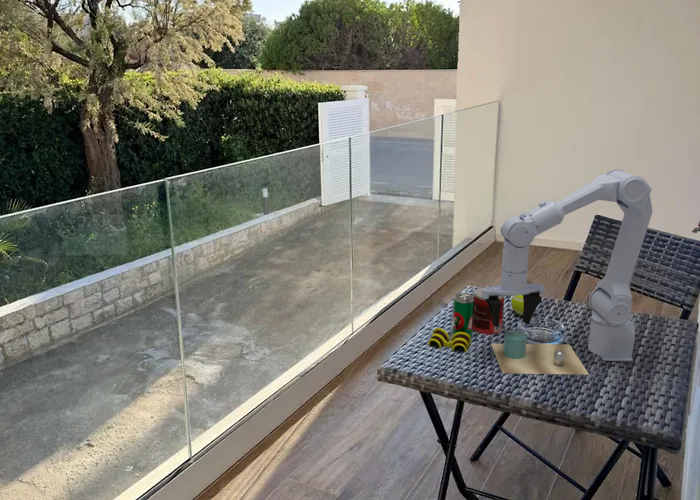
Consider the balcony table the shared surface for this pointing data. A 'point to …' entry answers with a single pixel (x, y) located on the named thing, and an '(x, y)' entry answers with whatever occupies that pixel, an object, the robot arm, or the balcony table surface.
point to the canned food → (485, 315)
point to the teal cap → (515, 344)
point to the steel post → (559, 358)
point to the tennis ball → (518, 304)
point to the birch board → (540, 360)
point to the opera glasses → (456, 339)
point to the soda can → (463, 314)
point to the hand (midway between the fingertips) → (510, 324)
